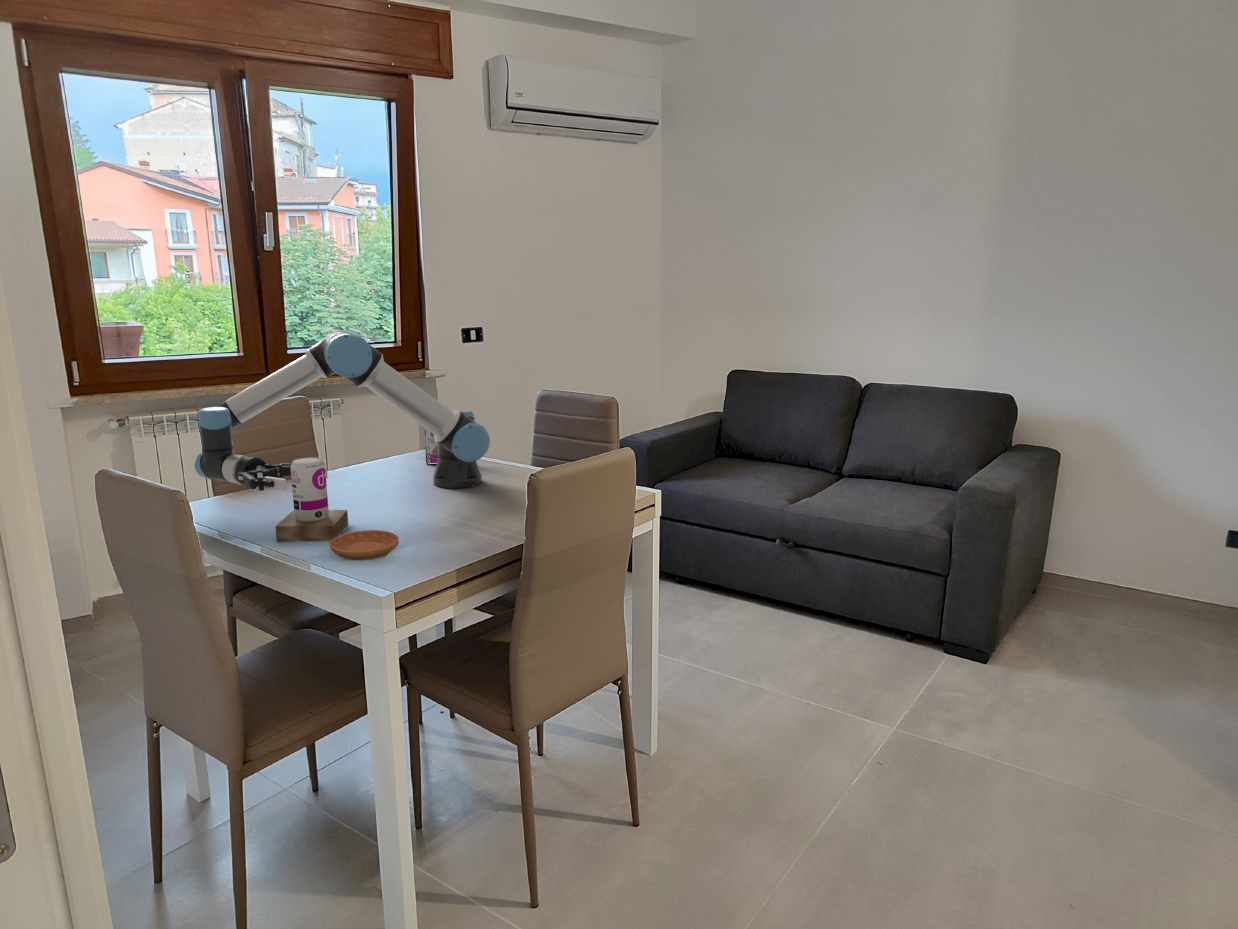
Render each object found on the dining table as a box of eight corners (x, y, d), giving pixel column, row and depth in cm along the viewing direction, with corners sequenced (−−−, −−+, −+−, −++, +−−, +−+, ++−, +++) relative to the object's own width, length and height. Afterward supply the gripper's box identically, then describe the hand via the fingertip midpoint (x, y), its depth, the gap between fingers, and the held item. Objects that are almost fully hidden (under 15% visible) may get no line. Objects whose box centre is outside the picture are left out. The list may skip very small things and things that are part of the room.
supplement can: (335, 515, 211) (331, 458, 208) (314, 523, 204) (309, 465, 201) (309, 512, 214) (305, 455, 211) (287, 520, 206) (282, 462, 203)
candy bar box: (425, 465, 287) (423, 418, 283) (430, 461, 291) (428, 416, 288) (456, 465, 286) (454, 419, 282) (460, 462, 290) (459, 417, 287)
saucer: (408, 555, 194) (407, 543, 194) (339, 567, 186) (338, 555, 185) (387, 537, 207) (386, 526, 207) (322, 548, 199) (321, 536, 198)
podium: (348, 524, 217) (347, 509, 216) (334, 540, 204) (333, 525, 203) (293, 525, 216) (292, 510, 215) (276, 541, 202) (275, 526, 202)
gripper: (284, 474, 227) (342, 482, 219) (206, 494, 205) (268, 505, 196) (281, 447, 226) (341, 455, 217) (202, 465, 203) (265, 474, 195)
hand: (306, 478), depth 207 cm, fingers open, 13 cm apart
